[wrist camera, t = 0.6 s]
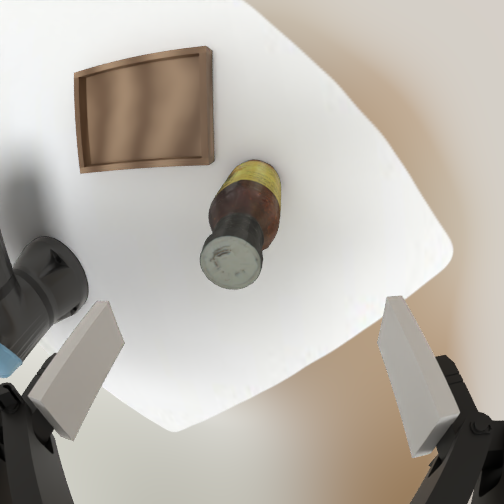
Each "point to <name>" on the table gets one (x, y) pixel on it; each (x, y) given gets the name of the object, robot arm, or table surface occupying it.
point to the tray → (146, 111)
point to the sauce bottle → (242, 225)
